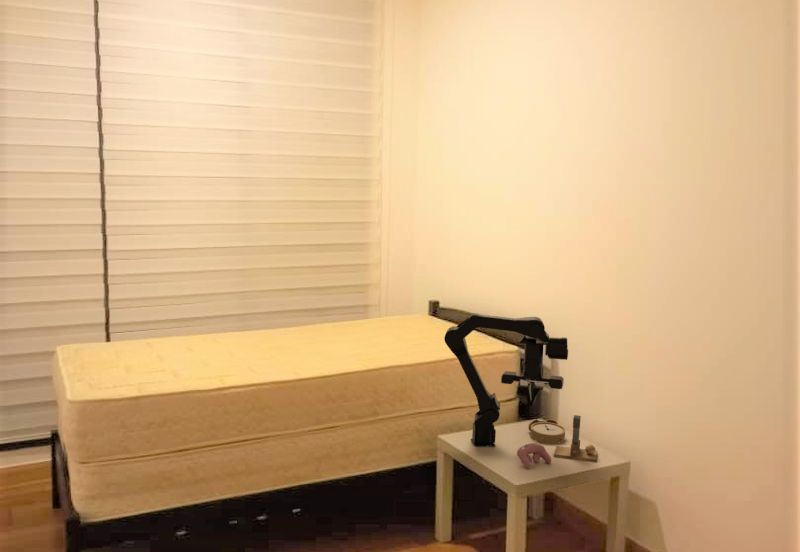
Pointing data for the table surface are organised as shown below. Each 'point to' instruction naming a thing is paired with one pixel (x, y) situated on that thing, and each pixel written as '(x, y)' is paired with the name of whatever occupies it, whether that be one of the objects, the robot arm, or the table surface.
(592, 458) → the base
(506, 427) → the table surface
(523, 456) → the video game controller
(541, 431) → the alarm clock
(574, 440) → the lever
